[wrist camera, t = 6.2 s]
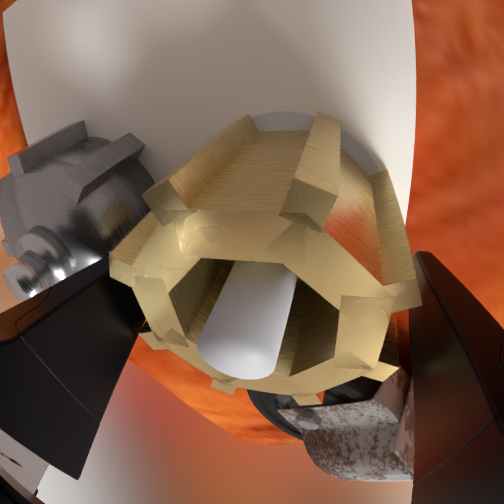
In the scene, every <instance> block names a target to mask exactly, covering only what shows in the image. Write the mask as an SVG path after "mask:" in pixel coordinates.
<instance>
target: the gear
mask: <svg viewBox="0 0 504 504" xmlns="http://www.w3.org/2000/svg"><path fill="white" fill-rule="evenodd" d="M144 147H145V144H144V143H143V142H142V141H140V140H139V139H138V138H137V137H135V136H134V135H133V134H131V133H130V132H129V133H128V134H126V135H124V136H122V137H120V138H118V139H117V140H115V141H113V142H112V141H110V140H107V139H104V138H100V137H88V134H87V130H86V126H85V122H84V120H82V121H78V122H75V123H72V124H69V125H67V126H65V127H63V128H61V129H59V130H57V131H55V132H53V133H51V134H49V135H47V136H45V137H43V138H41V139H39V140H38V141H36V142H34V143H32V144H30V145H28V146H27V147H25V148H23V149H21V150H19V151H18V152H16V153H14V154H13V155H11V156H9V157H8V158H7V160H8V163H9V166H10V169H11V173H9V174H8V175H6V176H5V177H3V178H2V179H0V218H1V223H2V227H3V231H4V234H5V237H6V238H5V239H4V240H3V241H2V242H1V243H2V245H3V247H4V249H5V251H6V253H7V255H8V256H9V257H15V258H16V259H17V260H16V261H15V262H14V263H13V264H12V265H11V266H10V267H9V268H8V269H7V270H6V271H5V272H4V279H5V281H6V284H7V286H8V287H9V289H10V290H11V292H12V293H13V294H14V295H15V296H16V298H18V300H19V301H20V302H23V301H25V300H27V299H29V298H31V297H33V296H34V295H36V294H38V293H40V292H42V291H43V290H45V289H47V288H49V287H50V286H53V285H54V284H56V283H58V282H60V281H61V280H63V279H65V278H67V277H69V276H70V275H72V274H74V273H76V272H78V271H80V270H81V269H83V268H85V267H87V266H89V265H91V264H93V263H95V262H97V261H98V260H100V259H102V258H104V257H106V256H108V255H110V254H111V252H112V251H113V250H114V249H115V248H116V247H117V246H118V245H119V244H120V243H121V242H122V240H123V239H124V238H125V237H126V236H127V235H128V234H129V233H130V232H131V231H132V230H133V229H134V228H135V227H136V226H137V225H138V224H139V223H140V222H141V221H142V220H143V218H144V217H145V216H146V215H147V214H148V213H149V212H150V211H151V209H150V208H149V206H148V205H147V203H146V202H145V200H144V199H143V197H142V196H141V195H142V194H143V193H145V192H146V191H147V190H148V189H149V188H150V187H151V186H153V185H154V184H155V181H154V180H153V178H152V176H151V175H150V174H149V172H148V171H147V169H146V168H145V167H144V166H143V165H142V164H141V162H140V161H139V160H138V158H139V156H140V154H141V152H142V150H143V149H144Z"/></svg>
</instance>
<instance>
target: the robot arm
mask: <svg viewBox="0 0 504 504" xmlns="http://www.w3.org/2000/svg"><path fill="white" fill-rule="evenodd" d="M413 261H414V266H415V270H416V275H417V280H418V285H419V290H420V295H421V301H422V306H418V307H414V308H410V309H409V340H410V350H411V362H412V375H413V392H414V422H415V446H414V476H413V490H412V502H411V504H504V329H503V328H502V327H501V326H500V324H499V323H498V322H497V321H496V320H495V319H494V318H493V316H492V315H491V314H490V313H489V312H488V311H487V310H486V309H485V307H484V306H483V305H482V304H481V303H480V302H479V301H478V300H477V299H476V298H475V297H474V296H473V294H472V293H471V292H470V291H469V290H468V289H467V288H466V287H465V286H464V285H463V284H462V283H461V282H460V281H459V280H458V279H457V278H456V277H455V276H454V275H453V274H452V273H451V272H450V271H449V270H448V269H447V268H446V267H445V266H444V265H443V264H442V263H441V262H440V261H439V260H438V259H437V258H436V257H435V256H434V255H433V254H432V253H430V252H427V251H416V252H415V253H414V256H413ZM145 320H146V318H145V315H144V313H143V311H142V309H141V307H140V305H139V302H138V300H137V298H136V296H135V294H134V291H133V289H132V287H130V286H128V285H126V284H124V283H122V282H120V281H118V280H116V279H114V278H112V277H110V268H109V255H108V256H106V257H104V258H102V259H100V260H98V261H97V262H95V263H93V264H91V265H89V266H87V267H85V268H83V269H81V270H80V271H78V272H76V273H74V274H72V275H70V276H69V277H67V278H65V279H63V280H61V281H60V282H58V283H56V284H54V285H53V286H50V287H49V288H47V289H45V290H43V291H42V292H40V293H38V294H36V295H34V296H33V297H31V298H29V299H27V300H25V301H23V302H21V303H19V304H18V305H16V306H14V307H12V308H10V309H8V310H6V311H4V312H2V313H0V504H45V503H43V502H42V501H41V500H40V499H38V498H37V497H36V495H37V493H38V489H37V487H38V485H39V483H40V481H41V479H42V477H43V475H44V473H45V471H46V469H47V467H48V466H49V464H50V465H52V466H54V467H55V468H57V469H59V470H61V471H62V472H64V473H65V474H67V475H69V476H71V477H72V478H74V479H76V480H78V479H79V478H80V475H81V473H82V470H83V467H84V465H85V462H86V459H87V456H88V454H89V451H90V448H91V446H92V443H93V441H94V438H95V435H96V433H97V430H98V428H99V425H100V422H101V420H102V417H103V415H104V412H105V410H106V407H107V405H108V403H109V400H110V398H111V395H112V393H113V391H114V389H115V386H116V384H117V382H118V379H119V377H120V375H121V372H122V370H123V368H124V366H125V363H126V361H127V359H128V357H129V354H130V352H131V350H132V348H133V346H134V343H135V341H136V339H137V337H138V335H139V334H138V333H139V332H140V330H141V328H142V326H143V324H144V322H145Z"/></svg>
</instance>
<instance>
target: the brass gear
mask: <svg viewBox="0 0 504 504" xmlns="http://www.w3.org/2000/svg"><path fill="white" fill-rule="evenodd" d="M340 130H341V121H339V120H337V119H334V118H332V117H329V116H327V115H324V114H322V113H319V112H318V113H317V115H316V118H315V121H314V123H313V126H312V129H311V130H293V131H258V129H257V128H256V126H255V124H254V122H253V120H252V119H251V117H250V115H249V114H248V115H246V116H244V117H242V118H240V119H238V120H236V121H234V122H232V123H230V124H229V125H227V126H226V127H225V128H223V129H222V130H221V131H219V132H218V133H217V134H215V135H214V136H213V137H211V138H210V139H209V140H207V141H206V142H205V143H204V144H202V145H201V146H200V147H199V148H197V149H196V150H195V151H193V152H192V153H191V154H190V155H188V156H187V157H186V158H185V159H184V160H182V161H181V162H180V163H179V164H177V165H176V166H175V167H174V168H173V169H171V170H170V171H169V172H168V173H167V174H165V175H164V176H163V177H162V178H161V179H160V180H158V181H157V182H156V183H155V184H154V185H153V186H151V187H150V188H149V189H148V190H147V191H146V192H145V193H143V194H142V195H141V196H142V197H143V199H144V200H145V202H146V203H147V205H148V206H149V208H150V209H151V211H150V212H149V213H148V214H147V215H146V216H145V217H144V218H143V220H142V221H141V222H140V223H139V224H138V225H137V226H136V227H135V228H134V229H133V230H132V231H131V232H130V233H129V234H128V235H127V236H126V237H125V238H124V239H123V240H122V242H121V243H120V244H119V245H118V246H117V247H116V248H115V249H114V250H113V251H112V252H111V254H110V255H109V268H110V277H112V278H114V279H116V280H118V281H120V282H122V283H124V284H126V285H128V286H130V287H132V289H133V291H134V294H135V296H136V298H137V300H138V302H139V305H140V307H141V309H142V311H143V313H144V315H145V318H146V320H147V321H146V322H145V324H144V325H143V327H142V329H141V330H140V332H139V333H138V334H139V335H140V336H141V337H142V338H143V339H144V340H145V341H146V342H147V343H148V345H149V346H150V347H151V348H152V349H153V350H160V349H169V350H171V351H172V352H174V353H175V354H177V355H178V356H180V357H181V358H183V359H184V360H186V361H187V362H189V363H190V364H192V365H193V366H195V367H196V368H198V369H199V370H201V371H203V372H204V373H206V374H207V375H209V376H210V377H212V378H214V379H213V381H212V384H211V386H210V387H212V388H215V389H217V390H220V391H223V392H225V393H228V394H231V395H232V394H233V393H234V391H235V389H236V387H238V388H244V389H250V390H256V391H262V392H269V393H276V394H283V395H290V396H292V397H293V398H294V399H295V401H296V402H297V403H298V404H299V405H300V406H301V405H315V404H322V403H323V397H324V391H325V390H327V389H330V388H332V387H335V386H338V385H340V384H343V383H345V382H348V381H350V380H353V379H355V378H358V377H360V376H365V377H368V378H371V379H375V380H378V381H382V382H383V381H384V380H386V379H387V378H388V377H389V376H390V375H392V374H393V373H394V372H395V371H396V370H397V369H398V368H399V347H398V330H397V317H396V312H397V311H402V310H406V309H410V308H414V307H418V306H422V301H421V295H420V290H419V285H418V280H417V275H416V270H415V266H414V261H413V257H412V252H411V248H410V244H409V240H408V236H407V232H406V228H405V224H404V220H403V217H402V213H401V210H400V206H399V203H398V199H397V196H396V193H395V189H394V186H393V183H392V180H391V178H390V175H389V172H388V169H387V170H384V171H381V172H378V173H375V174H371V175H369V174H368V173H367V172H366V171H365V170H364V169H363V168H362V167H361V166H360V165H359V164H358V163H357V162H356V161H355V160H354V159H353V158H352V157H351V156H350V155H349V154H348V153H347V152H346V151H345V150H344V149H343V148H342V147H341V146H340ZM236 260H241V261H256V262H270V263H282V264H284V265H285V266H286V267H287V268H289V269H290V270H291V271H292V272H293V273H295V274H296V275H297V276H298V277H297V282H296V286H295V290H294V294H293V299H292V303H291V307H290V311H289V315H288V319H287V323H286V327H285V331H284V335H283V339H282V343H281V347H280V351H279V355H278V358H277V362H276V366H275V369H274V371H273V372H272V373H271V374H270V375H269V376H267V377H264V378H261V379H252V380H250V379H240V378H236V377H232V376H229V375H226V374H224V373H222V372H220V371H218V370H216V369H214V368H213V367H211V366H210V365H209V364H208V363H206V362H205V361H204V360H203V358H202V357H201V356H200V354H199V352H198V350H197V341H198V339H199V337H200V334H201V332H202V330H203V328H204V326H205V324H206V322H207V320H208V318H209V316H210V314H211V311H212V309H213V307H214V305H215V303H216V301H217V299H218V297H219V295H220V293H221V291H222V289H223V286H224V284H225V282H226V280H227V278H228V276H229V274H230V272H231V270H232V268H233V266H234V264H235V262H236Z"/></svg>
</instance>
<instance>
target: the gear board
mask: <svg viewBox="0 0 504 504" xmlns="http://www.w3.org/2000/svg"><path fill="white" fill-rule="evenodd" d="M3 24H4V33H5V41H6V49H7V55H8V62H9V68H10V73H11V78H12V84H13V88H14V93H15V98H16V102H17V106H18V110H19V114H20V118H21V122H22V126H23V130H24V133H25V137H26V140H27V144H28V145H30V144H32V143H34V142H36V141H38V140H39V139H41V138H43V137H45V136H47V135H49V134H51V133H53V132H55V131H57V130H59V129H61V128H63V127H65V126H67V125H69V124H72V123H75V122H78V121H82V120H84V122H85V126H86V130H87V134H88V137H100V138H104V139H107V140H110V141H112V142H113V141H115V140H117V139H118V138H120V137H122V136H124V135H126V134H128V133H129V132H130V133H131V134H133V135H134V136H135V137H137V138H138V139H139V140H140V141H142V142H143V143H144V144H145V147H144V149H143V150H142V152H141V154H140V156H139V158H138V160H139V161H140V162H141V164H142V165H143V166H144V167H145V168H146V169H147V171H148V172H149V174H150V175H151V176H152V178H153V180H154V181H155V183H156V182H157V181H158V180H160V179H161V178H162V177H163V176H164V175H165V174H167V173H168V172H169V171H170V170H171V169H173V168H174V167H175V166H176V165H177V164H179V163H180V162H181V161H182V160H184V159H185V158H186V157H187V156H188V155H190V154H191V153H192V152H193V151H195V150H196V149H197V148H199V147H200V146H201V145H202V144H204V143H205V142H206V141H207V140H209V139H210V138H211V137H213V136H214V135H215V134H217V133H218V132H219V131H221V130H222V129H223V128H225V127H226V126H227V125H229V124H230V123H232V122H234V121H236V120H238V119H240V118H242V117H244V116H246V115H248V114H249V115H250V117H251V119H252V120H253V122H254V124H255V126H256V128H257V129H258V131H293V130H311V129H312V126H313V123H314V121H315V118H316V115H317V113H318V112H319V113H322V114H324V115H327V116H329V117H332V118H334V119H337V120H339V121H341V130H340V146H341V147H342V148H343V149H344V150H345V151H346V152H347V153H348V154H349V155H350V156H351V157H352V158H353V159H354V160H355V161H356V162H357V163H358V164H359V165H360V166H361V167H362V168H363V169H364V170H365V171H366V172H367V173H368V174H369V175H371V174H375V173H378V172H381V171H384V170H387V169H388V172H389V175H390V178H391V180H392V183H393V186H394V189H395V193H396V196H397V199H398V203H399V206H400V210H401V213H402V217H403V220H404V224H405V223H406V216H407V209H408V201H409V193H410V185H411V175H412V165H413V153H414V138H415V117H416V57H415V37H414V23H413V12H412V3H411V0H17V1H16V2H15V3H13V4H12V5H11V6H10V7H9V8H8V9H6V10H5V11H4V12H3ZM297 277H298V276H297V275H296V274H295V273H293V272H292V271H291V270H290V269H289V268H287V267H286V266H285V265H284V264H282V263H270V262H256V261H241V260H236V262H235V264H234V266H233V268H232V270H231V272H230V274H229V276H228V278H227V280H226V282H225V284H224V286H223V289H222V291H221V293H220V295H219V297H218V299H217V301H216V303H215V305H214V307H213V309H212V311H211V314H210V316H209V318H208V320H207V322H206V324H205V326H204V328H203V330H202V332H201V334H200V337H199V339H198V341H197V350H198V352H199V354H200V356H201V357H202V358H203V360H204V361H205V362H206V363H208V364H209V365H210V366H211V367H213V368H214V369H216V370H218V371H220V372H222V373H224V374H226V375H229V376H232V377H236V378H240V379H250V380H252V379H261V378H264V377H267V376H269V375H270V374H271V373H272V372H273V371H274V369H275V366H276V362H277V358H278V355H279V351H280V347H281V343H282V339H283V335H284V331H285V327H286V323H287V319H288V315H289V311H290V307H291V303H292V299H293V294H294V290H295V286H296V282H297Z"/></svg>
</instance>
